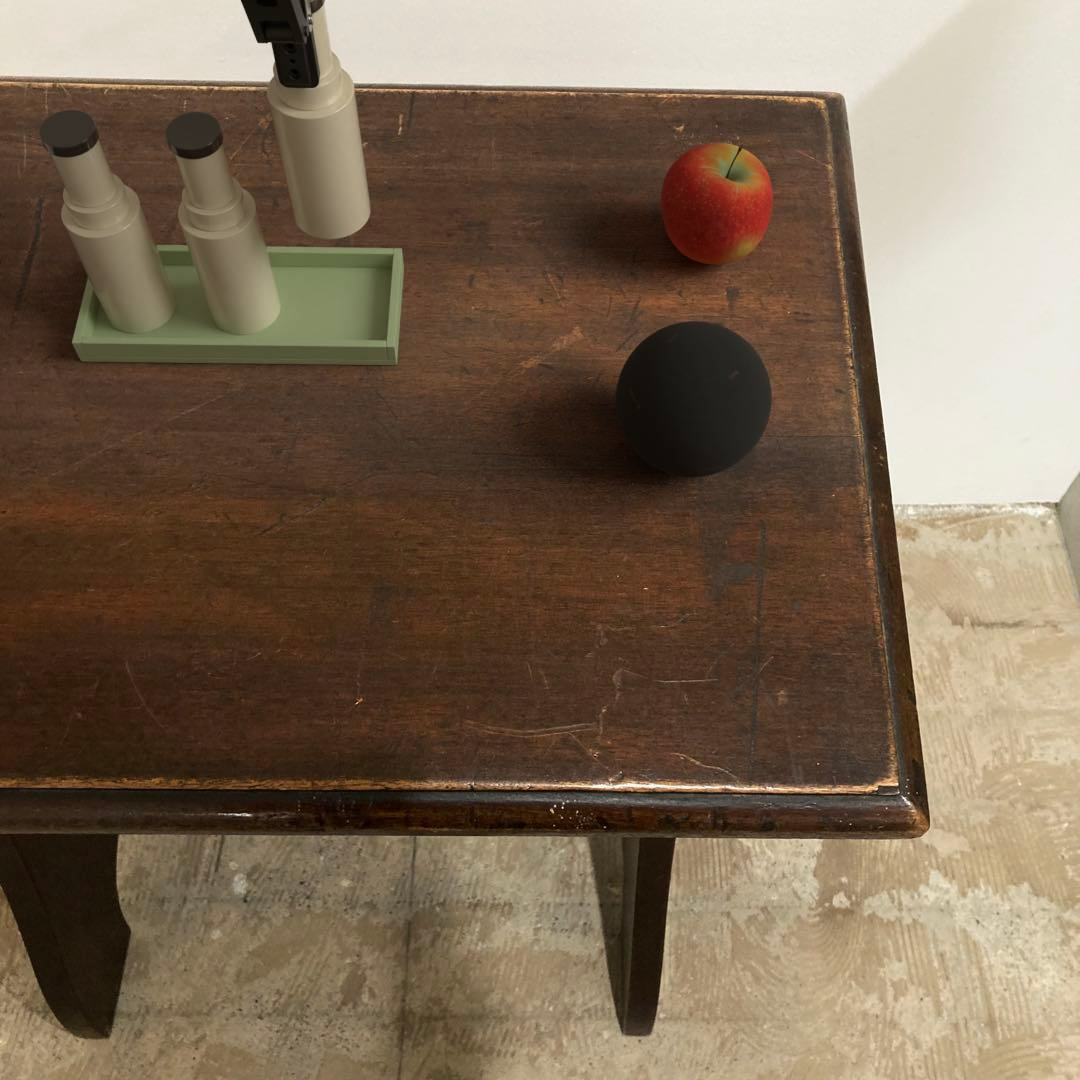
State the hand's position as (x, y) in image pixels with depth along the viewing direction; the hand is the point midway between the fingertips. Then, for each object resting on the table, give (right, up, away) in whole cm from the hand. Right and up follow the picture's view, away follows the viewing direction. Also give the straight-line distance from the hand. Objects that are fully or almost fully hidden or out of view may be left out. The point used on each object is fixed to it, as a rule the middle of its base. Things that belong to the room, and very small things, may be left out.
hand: (304, 59), depth 65 cm
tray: (-8, -11, +19) cm, 23 cm away
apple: (+26, -5, +23) cm, 35 cm away
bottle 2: (-8, -10, +18) cm, 22 cm away
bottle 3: (0, -6, +10) cm, 11 cm away
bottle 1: (-15, -10, +18) cm, 26 cm away
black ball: (+23, -20, +14) cm, 34 cm away
